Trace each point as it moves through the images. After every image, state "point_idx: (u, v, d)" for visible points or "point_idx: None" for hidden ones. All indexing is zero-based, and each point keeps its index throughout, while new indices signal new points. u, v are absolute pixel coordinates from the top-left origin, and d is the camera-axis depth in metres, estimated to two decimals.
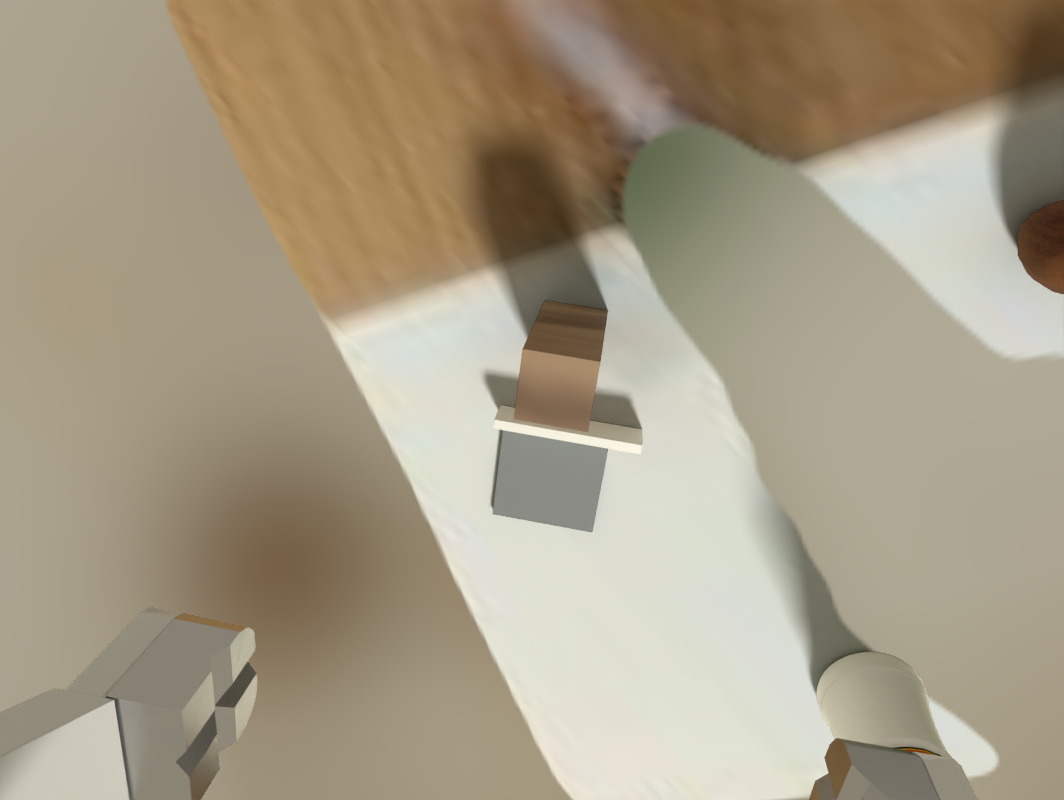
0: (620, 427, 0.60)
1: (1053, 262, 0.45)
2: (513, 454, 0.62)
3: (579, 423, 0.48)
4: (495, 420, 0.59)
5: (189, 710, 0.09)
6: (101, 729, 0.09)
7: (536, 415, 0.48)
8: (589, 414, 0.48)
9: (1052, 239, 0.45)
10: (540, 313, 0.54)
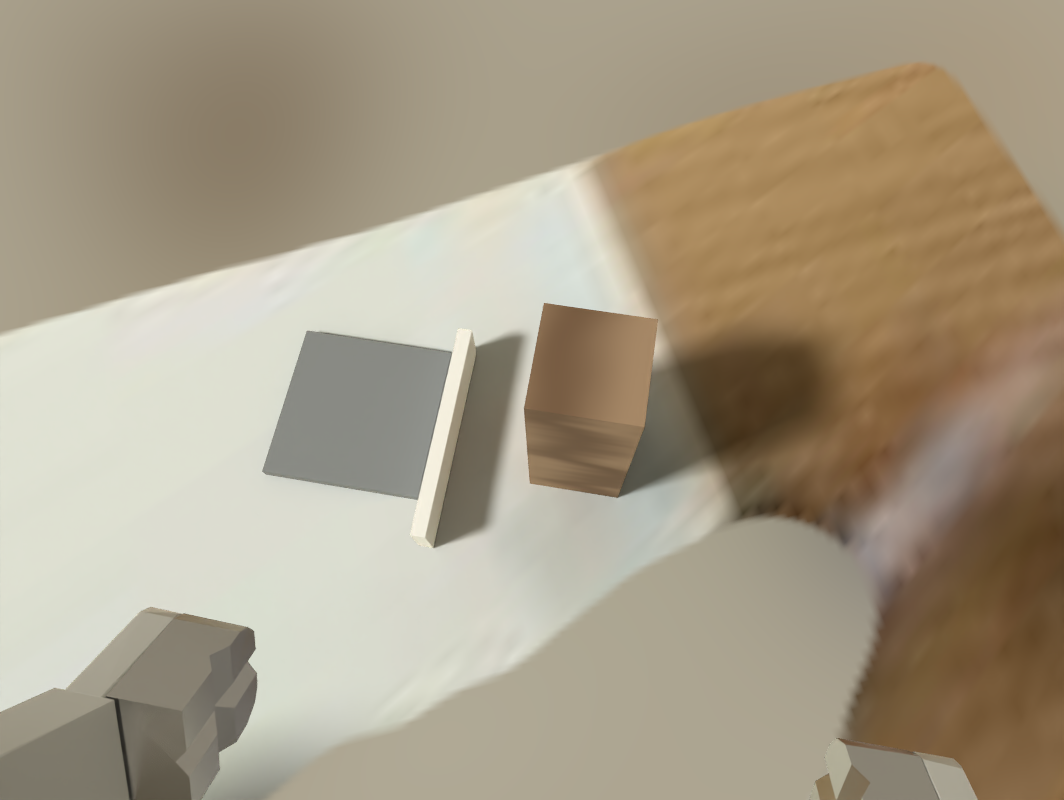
0: (439, 514, 0.40)
1: None
2: (402, 363, 0.43)
3: (538, 396, 0.30)
4: (470, 331, 0.41)
5: (189, 710, 0.09)
6: (101, 729, 0.09)
7: (551, 334, 0.31)
8: (554, 410, 0.30)
9: None
10: None
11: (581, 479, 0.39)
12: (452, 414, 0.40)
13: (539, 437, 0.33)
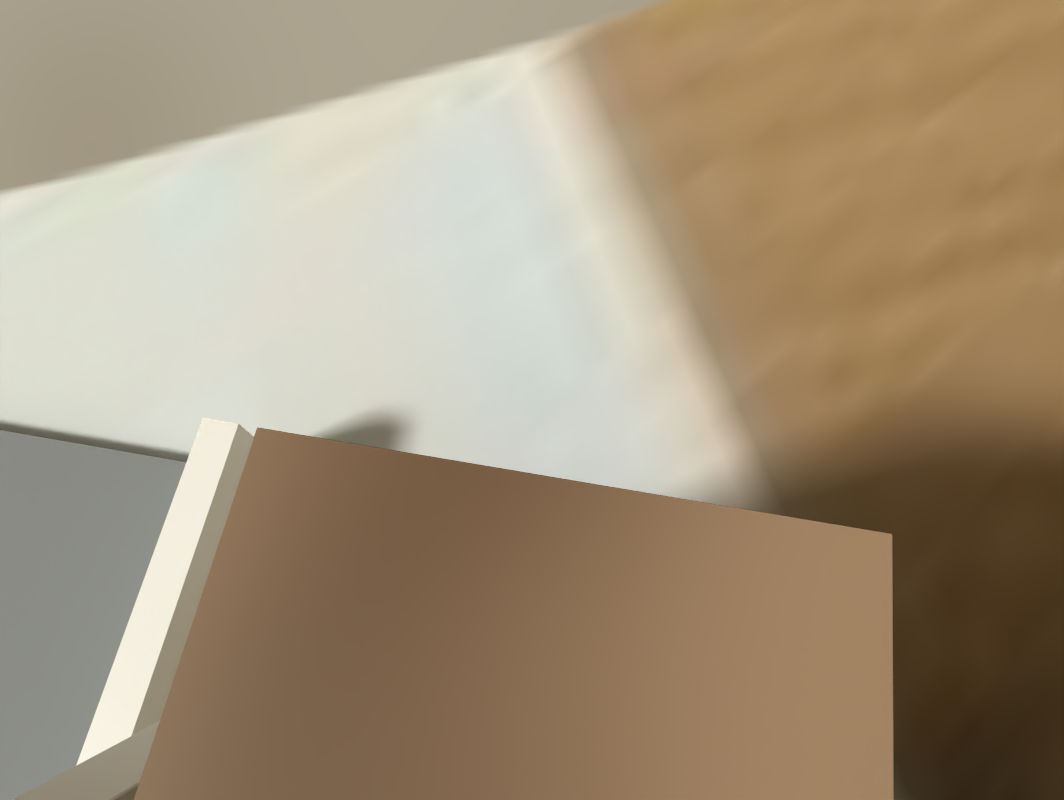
0: None
1: None
2: (90, 495, 0.17)
3: None
4: (234, 427, 0.15)
5: None
6: None
7: (268, 628, 0.05)
8: None
9: None
10: None
11: None
12: (150, 680, 0.14)
13: None
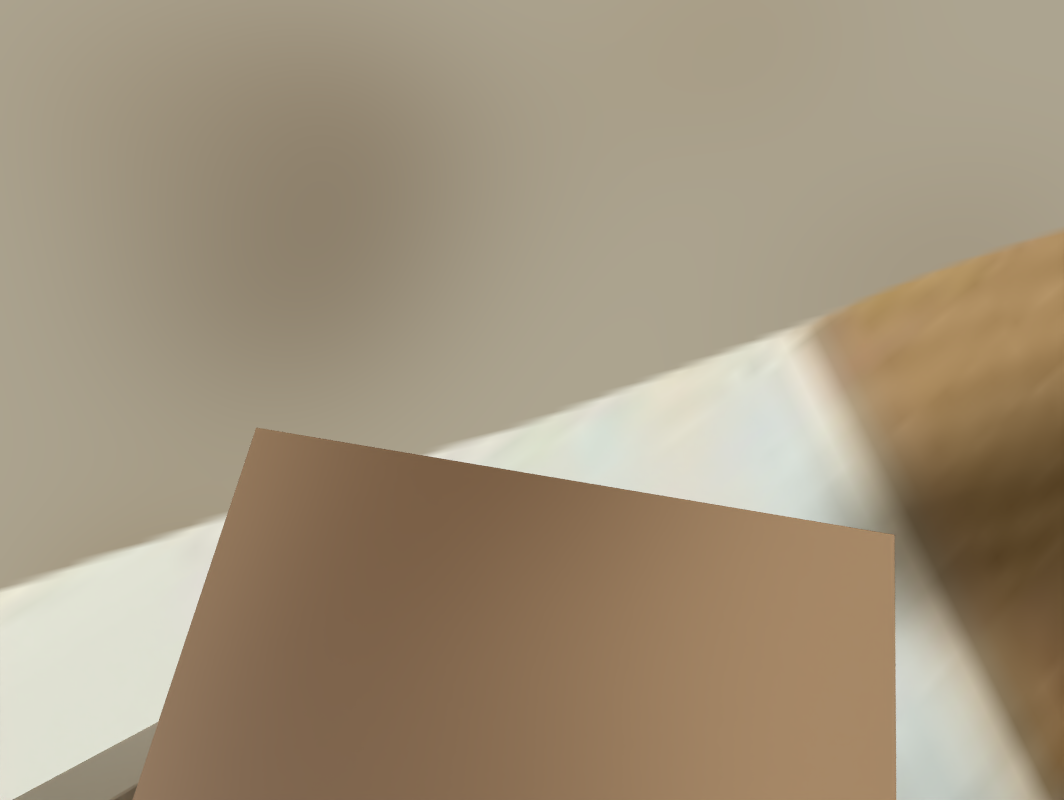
0: None
1: None
2: None
3: None
4: None
5: None
6: None
7: (267, 630, 0.05)
8: None
9: None
10: None
11: None
12: None
13: None
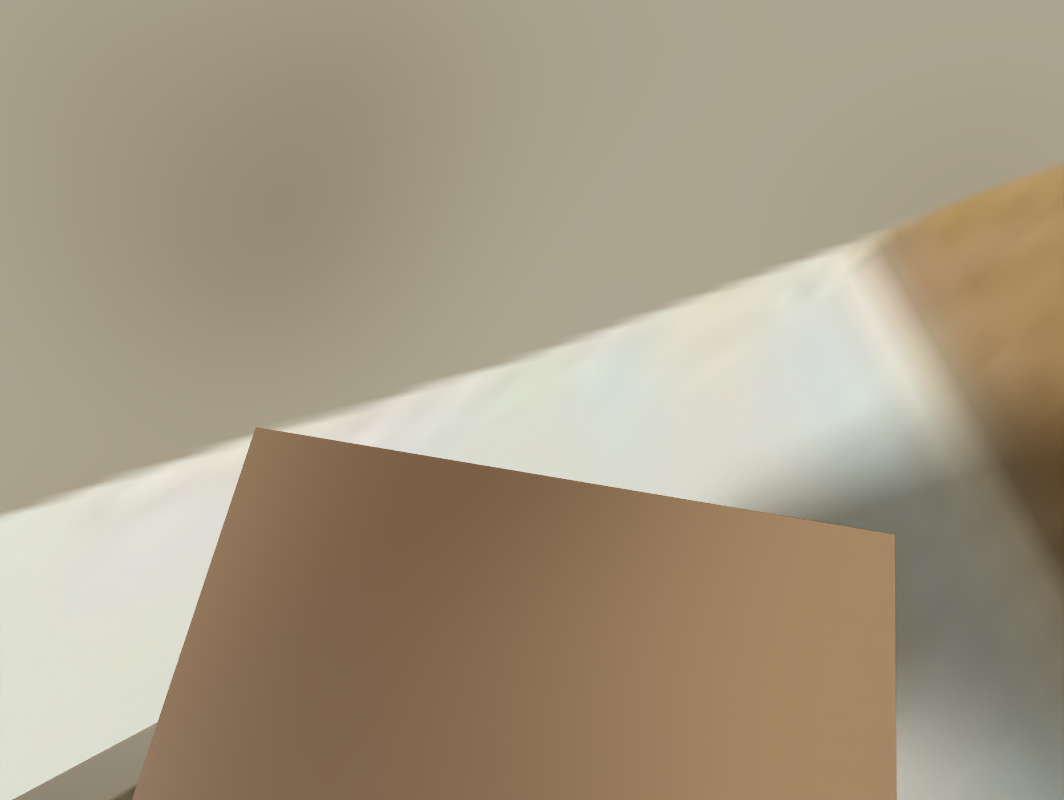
0: None
1: None
2: None
3: None
4: None
5: None
6: None
7: (267, 630, 0.05)
8: None
9: None
10: None
11: None
12: None
13: None
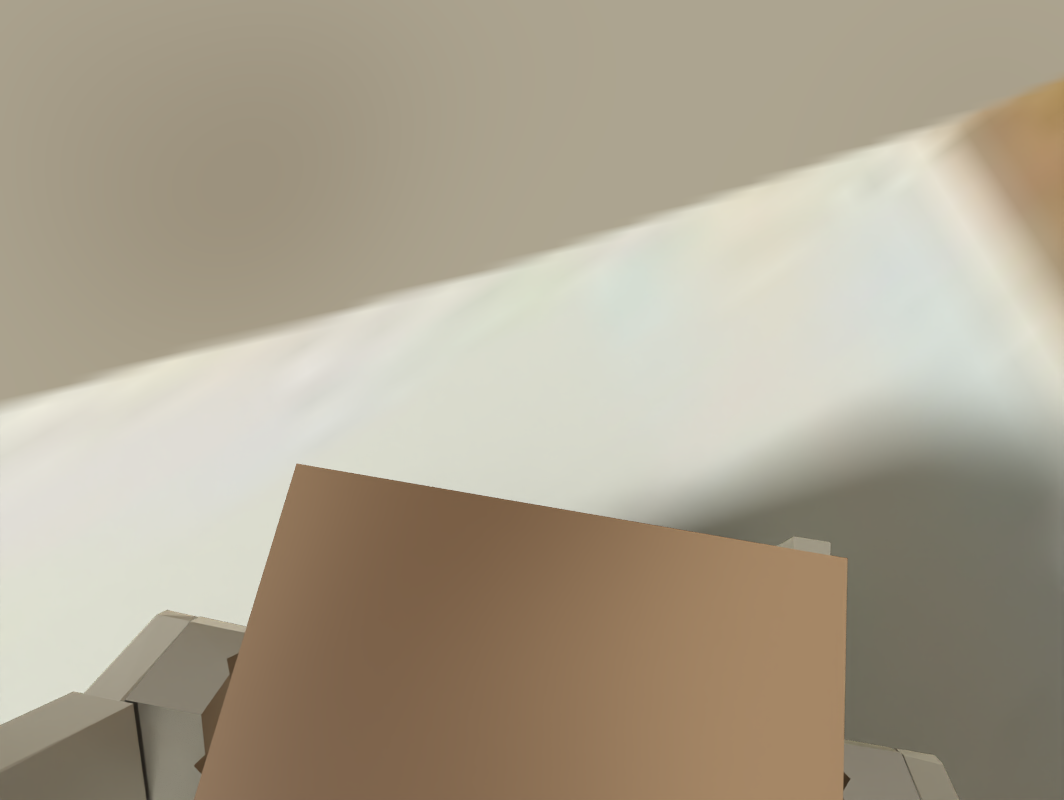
0: None
1: None
2: None
3: None
4: (827, 546, 0.16)
5: (208, 714, 0.09)
6: (120, 733, 0.09)
7: (309, 640, 0.06)
8: None
9: None
10: None
11: None
12: None
13: None
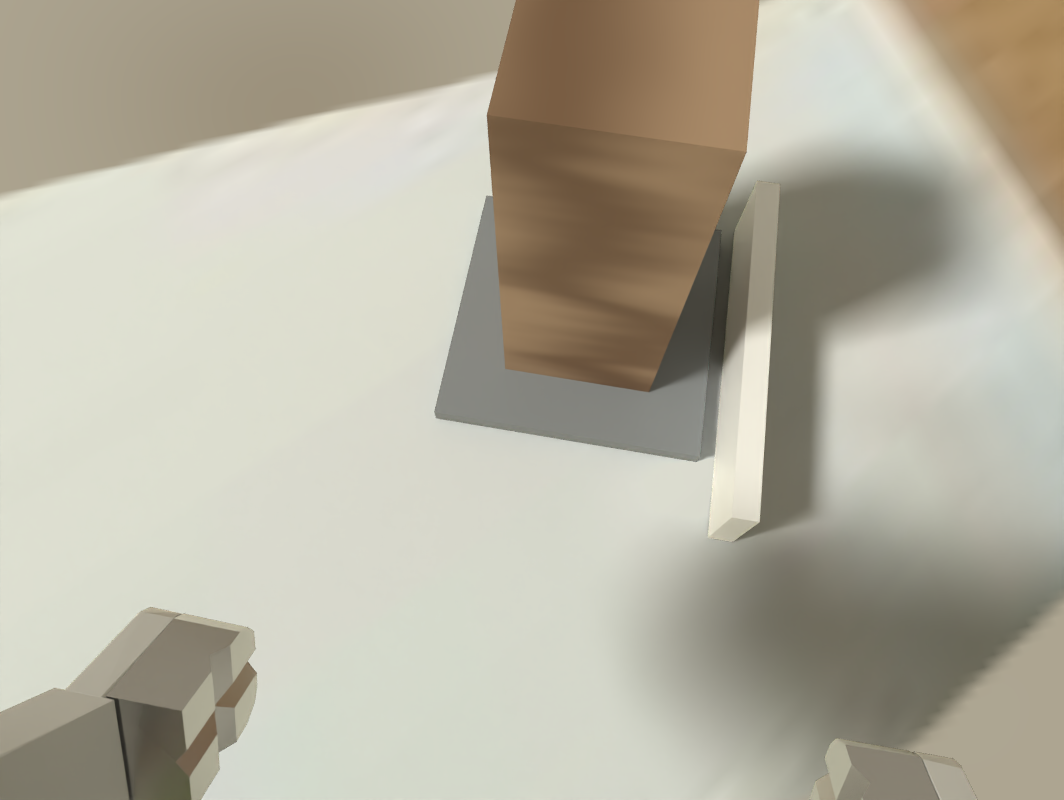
0: None
1: None
2: None
3: (517, 93, 0.14)
4: (778, 186, 0.25)
5: (189, 710, 0.09)
6: (101, 729, 0.09)
7: None
8: (552, 120, 0.14)
9: None
10: None
11: (591, 348, 0.23)
12: (770, 314, 0.23)
13: (520, 225, 0.17)
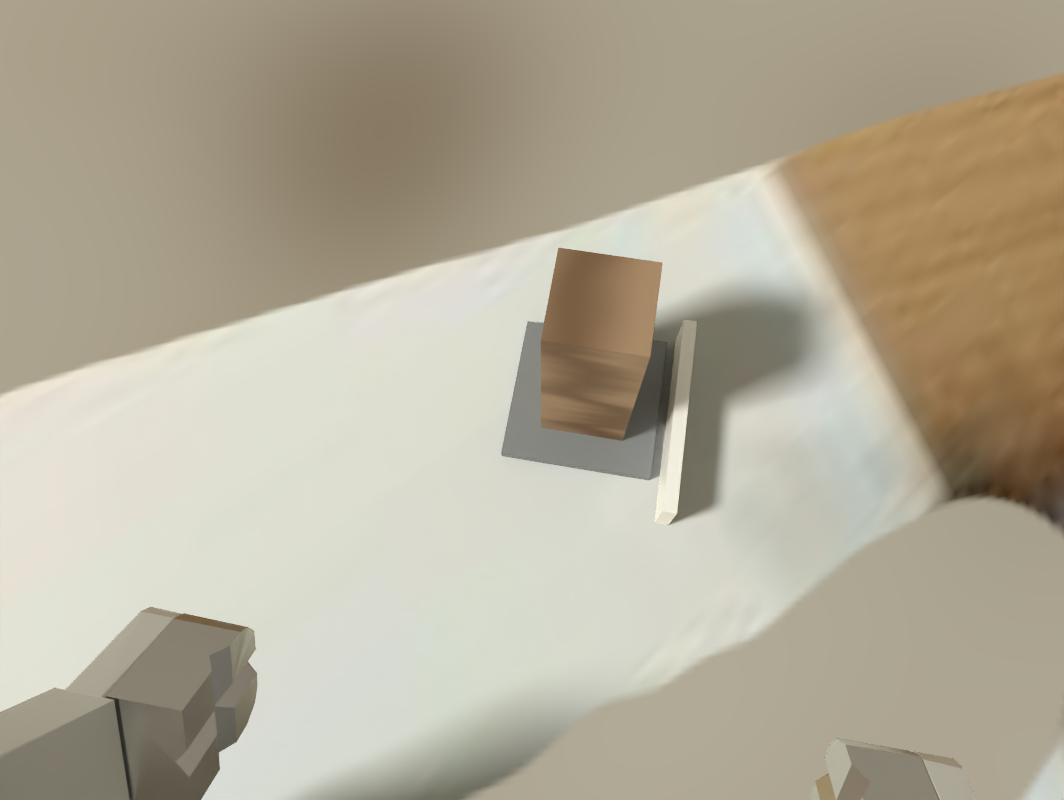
0: None
1: None
2: None
3: (553, 329, 0.33)
4: (696, 322, 0.44)
5: (189, 710, 0.09)
6: (101, 729, 0.09)
7: (565, 275, 0.34)
8: (568, 342, 0.33)
9: None
10: None
11: (589, 420, 0.42)
12: (688, 399, 0.42)
13: (553, 372, 0.36)
